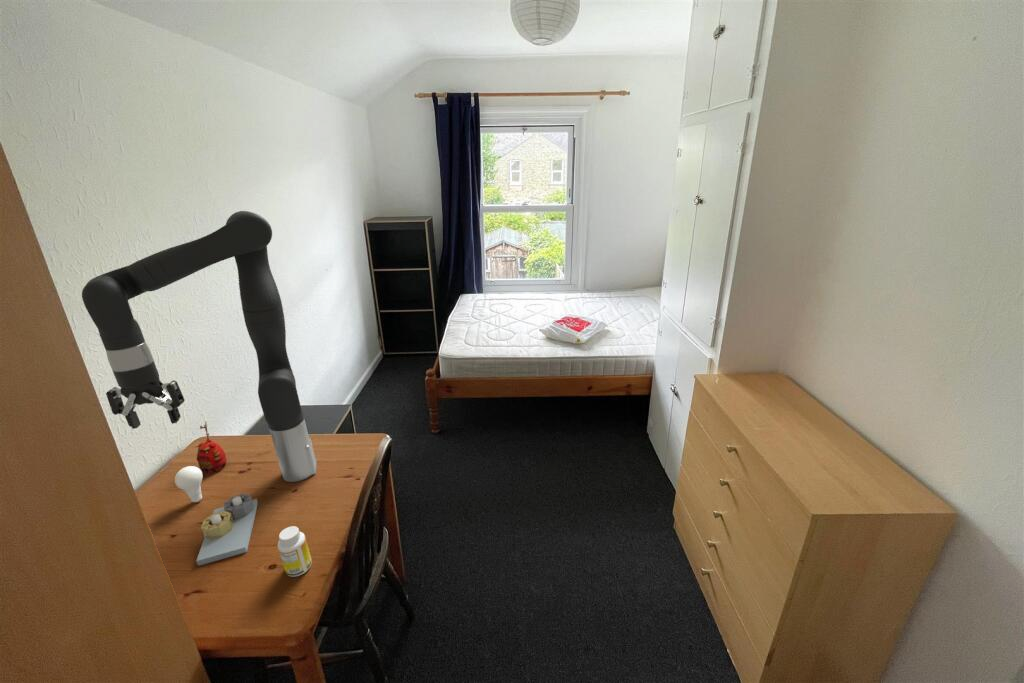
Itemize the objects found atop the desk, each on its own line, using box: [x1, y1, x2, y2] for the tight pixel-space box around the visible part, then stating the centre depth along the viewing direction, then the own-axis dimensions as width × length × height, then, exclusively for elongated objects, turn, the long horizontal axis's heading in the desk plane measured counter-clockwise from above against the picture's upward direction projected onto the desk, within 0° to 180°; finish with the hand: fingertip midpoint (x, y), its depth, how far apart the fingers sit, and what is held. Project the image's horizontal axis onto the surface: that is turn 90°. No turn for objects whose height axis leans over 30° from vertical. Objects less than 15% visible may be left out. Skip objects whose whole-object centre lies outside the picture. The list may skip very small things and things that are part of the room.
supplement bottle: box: [277, 525, 313, 578], centre depth 98 cm, size 6×6×10 cm
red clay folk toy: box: [196, 421, 228, 474], centre depth 134 cm, size 8×7×15 cm
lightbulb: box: [174, 465, 204, 503], centre depth 121 cm, size 6×6×11 cm
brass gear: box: [200, 511, 234, 540], centre depth 109 cm, size 6×6×3 cm
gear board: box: [195, 493, 259, 566], centre depth 110 cm, size 10×18×6 cm, turn 21°
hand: (156, 424), depth 107 cm, fingers open, 8 cm apart
